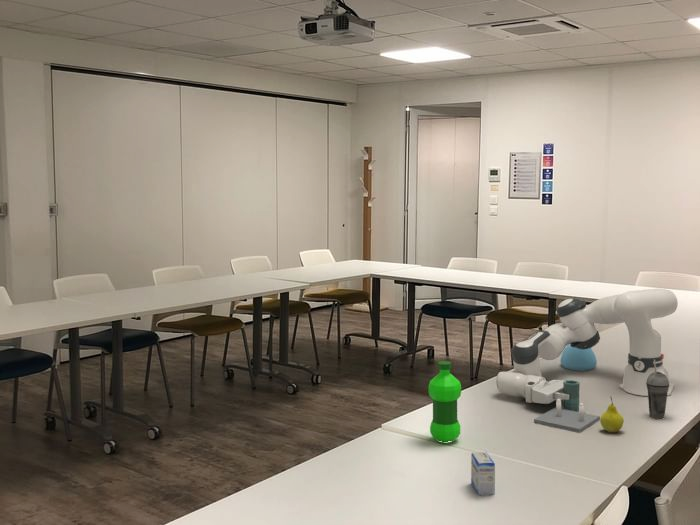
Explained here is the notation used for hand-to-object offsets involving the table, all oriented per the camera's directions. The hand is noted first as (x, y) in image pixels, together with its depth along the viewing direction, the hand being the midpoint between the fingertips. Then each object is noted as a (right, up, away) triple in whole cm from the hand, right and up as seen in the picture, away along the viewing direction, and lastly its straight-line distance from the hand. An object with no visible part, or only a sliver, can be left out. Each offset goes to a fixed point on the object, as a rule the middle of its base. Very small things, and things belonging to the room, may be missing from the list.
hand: (573, 395), depth 252 cm
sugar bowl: (+21, +1, +60) cm, 63 cm away
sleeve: (-1, -5, +1) cm, 6 cm away
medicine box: (-43, -14, -62) cm, 77 cm away
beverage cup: (+26, -6, -9) cm, 28 cm away
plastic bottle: (-48, -10, -26) cm, 56 cm away
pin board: (-5, -7, -10) cm, 14 cm away
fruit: (+6, -8, -21) cm, 23 cm away
